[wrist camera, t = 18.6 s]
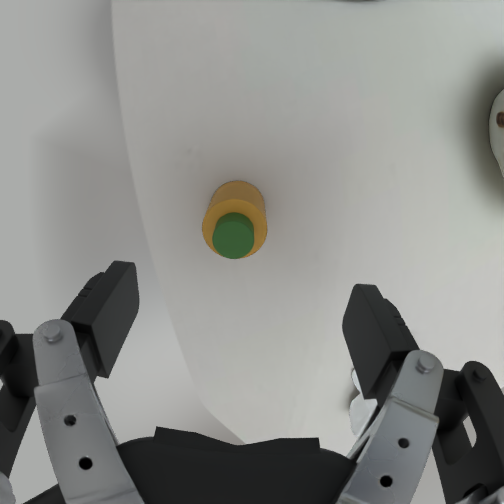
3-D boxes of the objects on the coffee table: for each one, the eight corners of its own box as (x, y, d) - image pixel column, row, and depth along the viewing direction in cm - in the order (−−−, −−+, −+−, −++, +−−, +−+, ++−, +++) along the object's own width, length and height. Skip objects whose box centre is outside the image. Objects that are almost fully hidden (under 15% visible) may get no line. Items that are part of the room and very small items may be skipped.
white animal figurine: (394, 379, 37) (441, 333, 26) (403, 434, 32) (461, 409, 20) (338, 388, 37) (368, 346, 26) (344, 446, 32) (383, 432, 20)
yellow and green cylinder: (209, 228, 23) (197, 267, 18) (212, 178, 22) (199, 204, 16) (261, 233, 24) (263, 274, 18) (267, 183, 22) (273, 211, 16)
